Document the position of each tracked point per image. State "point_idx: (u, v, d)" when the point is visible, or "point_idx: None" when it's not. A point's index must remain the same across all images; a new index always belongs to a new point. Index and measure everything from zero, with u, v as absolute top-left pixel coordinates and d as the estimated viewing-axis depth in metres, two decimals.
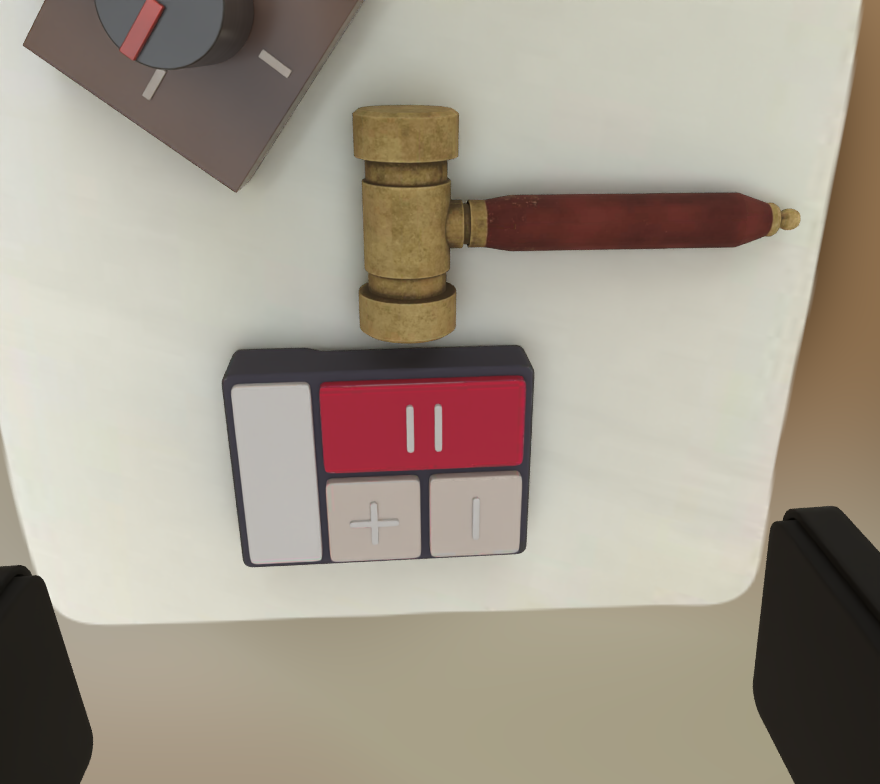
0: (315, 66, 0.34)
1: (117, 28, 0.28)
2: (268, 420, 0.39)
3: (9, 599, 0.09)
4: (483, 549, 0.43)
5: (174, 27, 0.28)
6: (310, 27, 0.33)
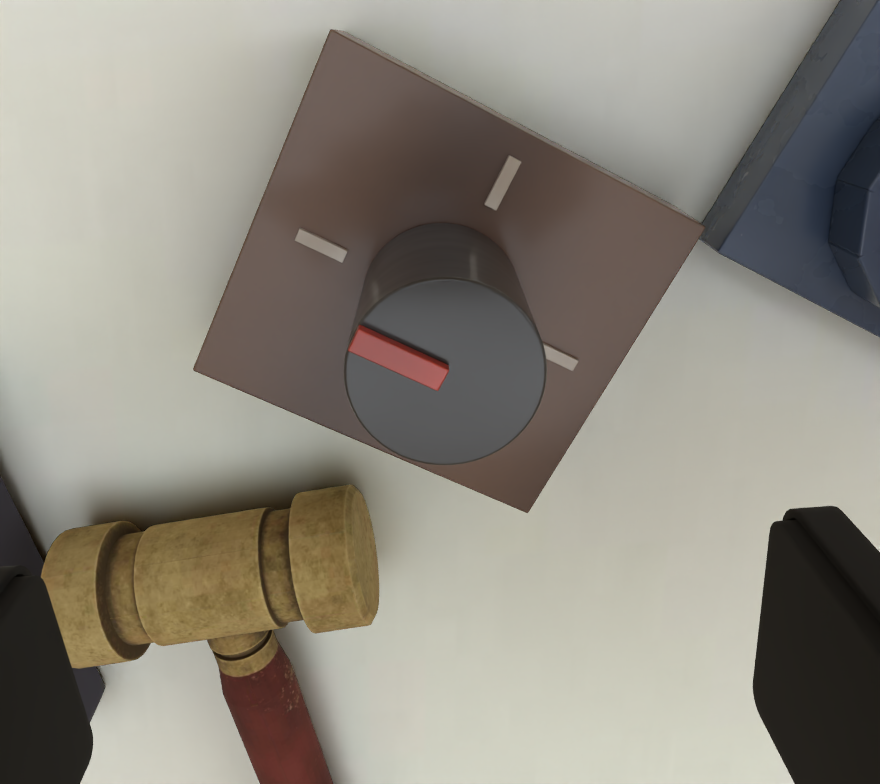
0: (394, 455, 0.24)
1: (391, 317, 0.17)
2: None
3: (9, 599, 0.09)
4: None
5: (410, 401, 0.18)
6: None
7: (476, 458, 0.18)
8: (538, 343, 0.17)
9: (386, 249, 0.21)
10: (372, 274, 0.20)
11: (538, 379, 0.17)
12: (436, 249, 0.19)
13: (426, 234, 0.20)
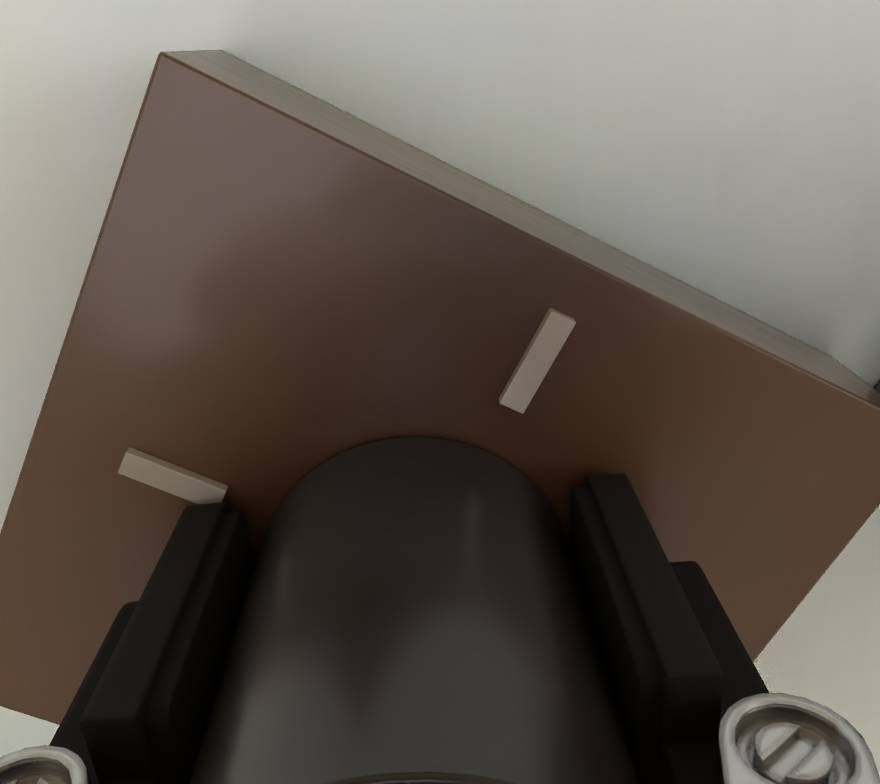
0: None
1: None
2: None
3: (227, 529, 0.10)
4: None
5: None
6: None
7: None
8: None
9: (299, 503, 0.10)
10: (259, 588, 0.09)
11: None
12: (395, 573, 0.08)
13: (379, 486, 0.10)
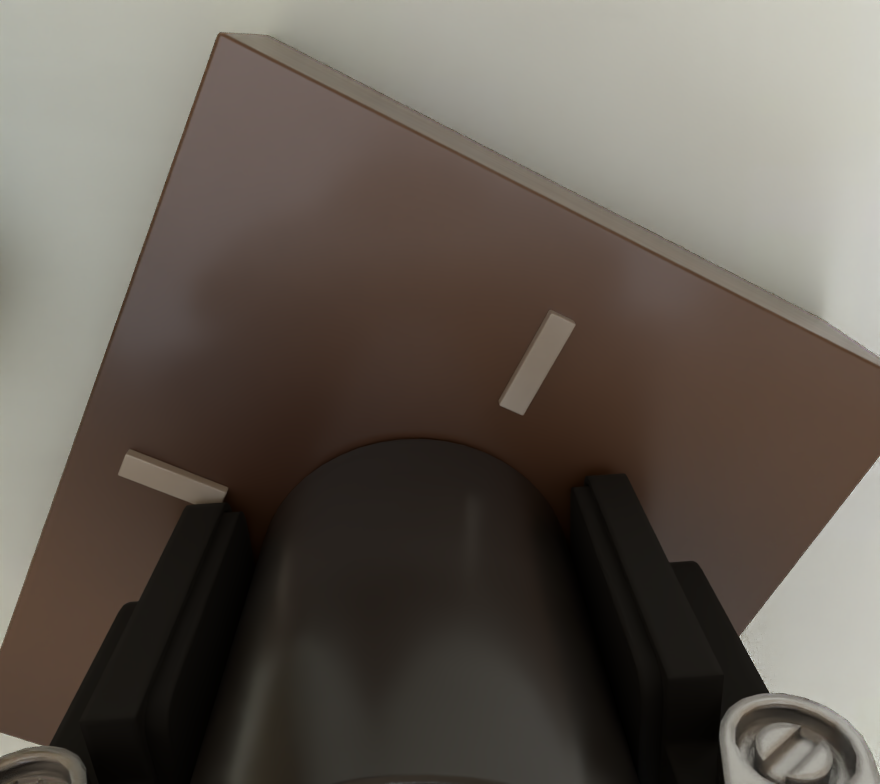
0: (59, 490, 0.11)
1: None
2: None
3: (227, 529, 0.10)
4: None
5: None
6: (103, 579, 0.12)
7: None
8: None
9: (298, 505, 0.10)
10: (258, 591, 0.09)
11: None
12: (394, 576, 0.08)
13: (378, 488, 0.10)
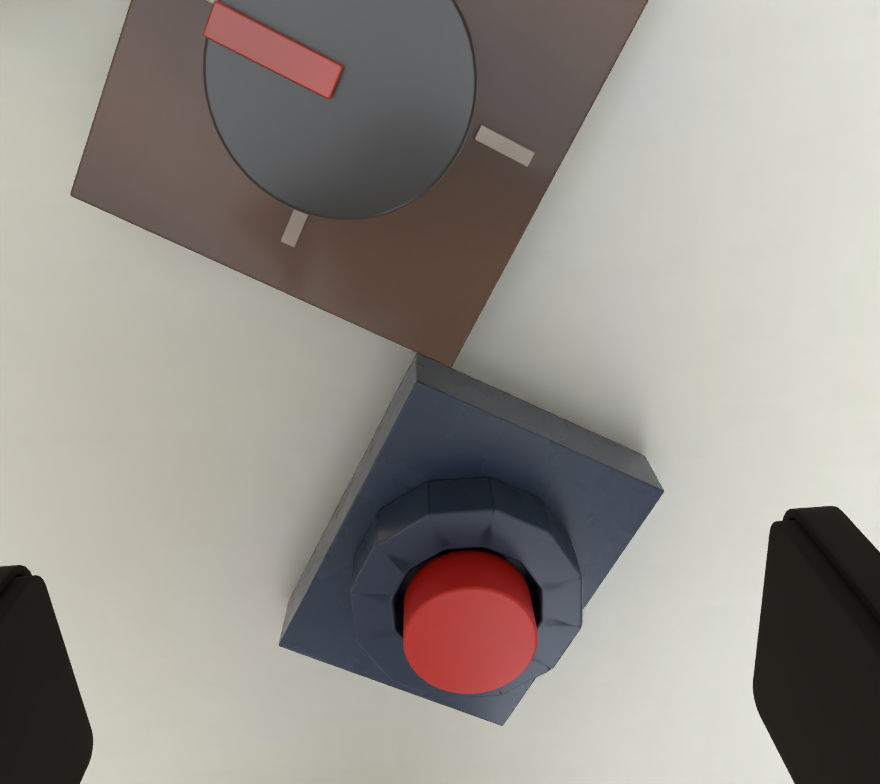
0: (133, 0, 0.17)
1: None
2: None
3: (9, 599, 0.09)
4: None
5: (295, 121, 0.13)
6: (159, 72, 0.18)
7: (388, 212, 0.14)
8: (464, 32, 0.13)
9: None
10: None
11: (466, 87, 0.13)
12: None
13: None
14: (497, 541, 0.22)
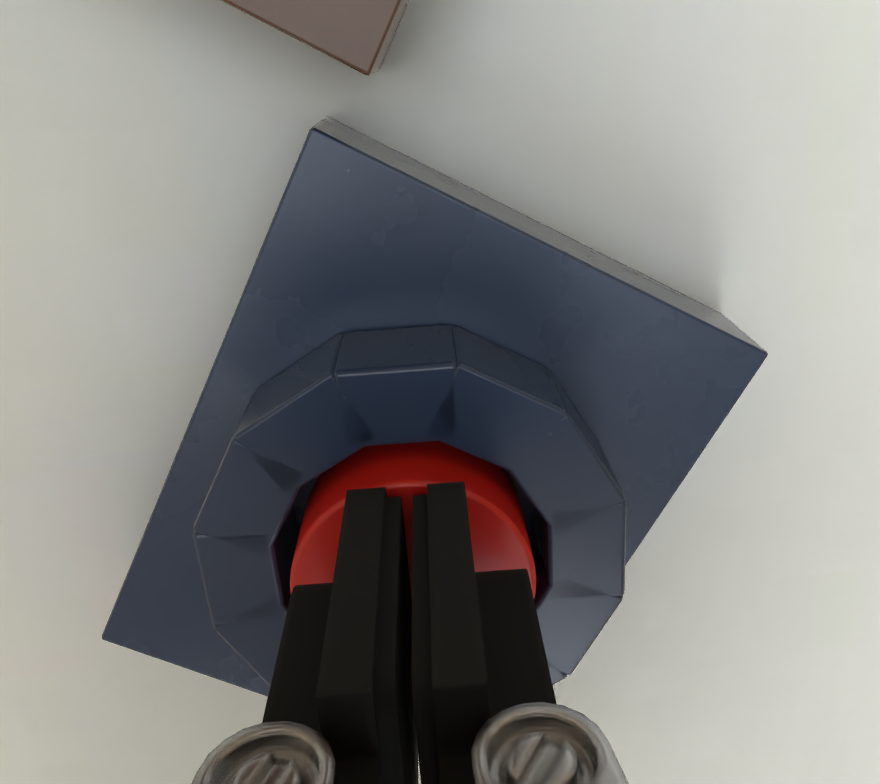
0: None
1: None
2: None
3: (393, 513, 0.10)
4: None
5: None
6: None
7: None
8: None
9: None
10: None
11: None
12: None
13: None
14: (466, 428, 0.11)
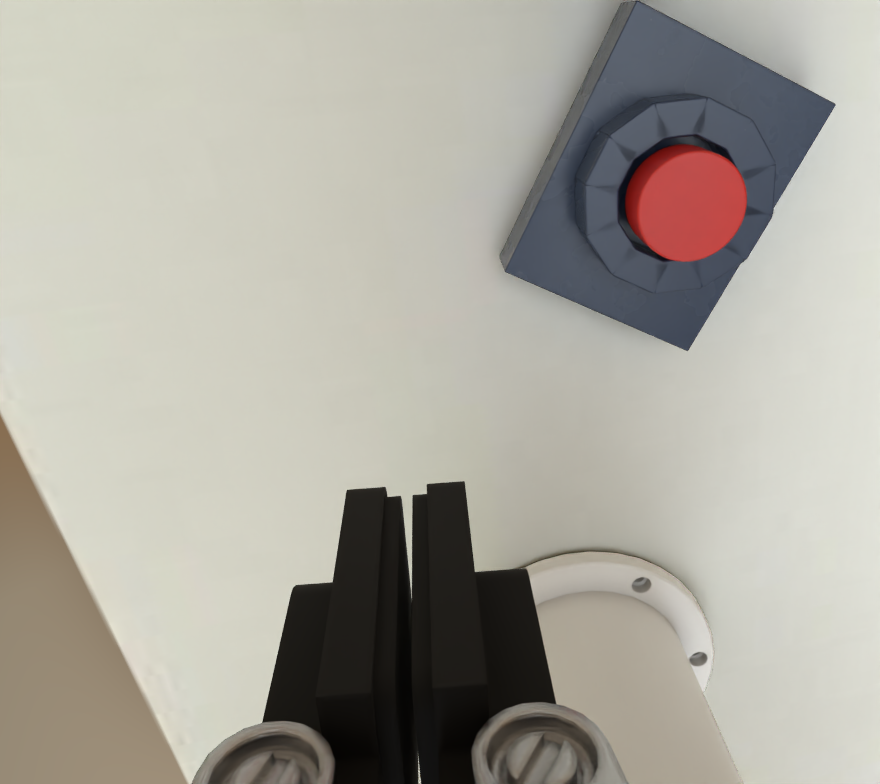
0: None
1: None
2: None
3: (393, 514, 0.10)
4: None
5: None
6: None
7: None
8: None
9: None
10: None
11: None
12: None
13: None
14: (709, 128, 0.27)
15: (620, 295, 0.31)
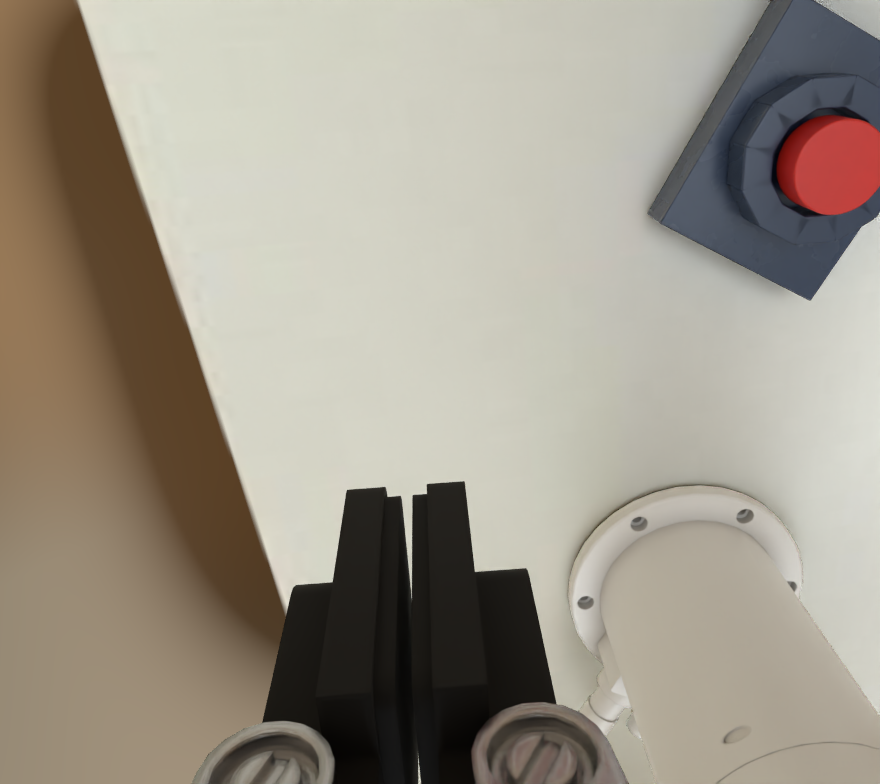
0: None
1: None
2: None
3: (393, 513, 0.10)
4: None
5: None
6: None
7: None
8: None
9: None
10: None
11: None
12: None
13: None
14: (855, 101, 0.31)
15: (757, 248, 0.35)
